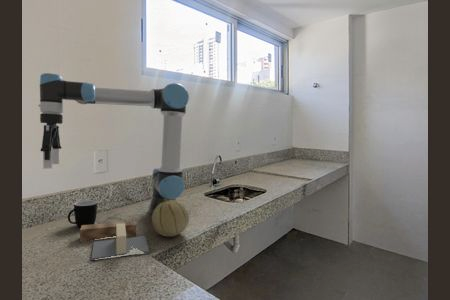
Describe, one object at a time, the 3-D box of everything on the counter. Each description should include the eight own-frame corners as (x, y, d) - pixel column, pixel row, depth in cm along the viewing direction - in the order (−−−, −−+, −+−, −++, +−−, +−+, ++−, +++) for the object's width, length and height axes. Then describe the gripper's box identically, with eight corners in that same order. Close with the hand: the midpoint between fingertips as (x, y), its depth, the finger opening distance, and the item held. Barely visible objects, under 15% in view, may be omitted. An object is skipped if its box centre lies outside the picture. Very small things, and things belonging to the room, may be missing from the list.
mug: (89, 220, 122) (89, 199, 122) (101, 225, 117) (101, 202, 117) (62, 228, 112) (62, 204, 111) (73, 233, 107) (73, 208, 107)
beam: (135, 232, 111) (135, 220, 111) (136, 236, 107) (136, 224, 106) (81, 237, 104) (81, 225, 103) (80, 242, 99) (80, 229, 99)
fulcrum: (144, 238, 105) (145, 220, 104) (149, 253, 92) (149, 233, 91) (94, 244, 98) (94, 225, 97) (91, 261, 85) (91, 240, 84)
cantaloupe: (189, 241, 103) (190, 203, 102) (150, 243, 100) (151, 204, 99) (187, 228, 117) (188, 194, 116) (152, 229, 114) (153, 195, 113)
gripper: (48, 114, 116) (48, 162, 118) (30, 110, 93) (31, 170, 95) (67, 115, 119) (67, 162, 120) (55, 112, 96) (56, 170, 97)
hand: (51, 166), depth 108 cm, fingers open, 13 cm apart
